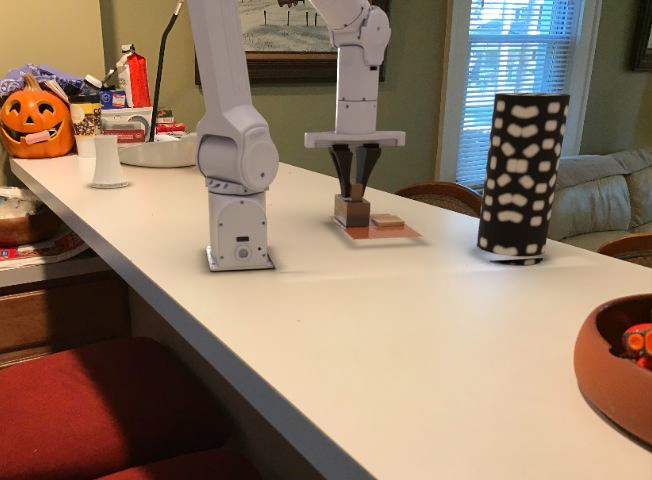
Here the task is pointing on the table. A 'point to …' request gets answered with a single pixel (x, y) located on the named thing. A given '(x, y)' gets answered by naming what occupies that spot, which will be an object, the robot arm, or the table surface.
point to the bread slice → (387, 220)
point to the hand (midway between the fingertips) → (352, 196)
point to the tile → (377, 230)
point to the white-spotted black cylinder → (521, 174)
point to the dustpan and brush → (162, 152)
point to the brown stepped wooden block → (352, 207)
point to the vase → (107, 163)
